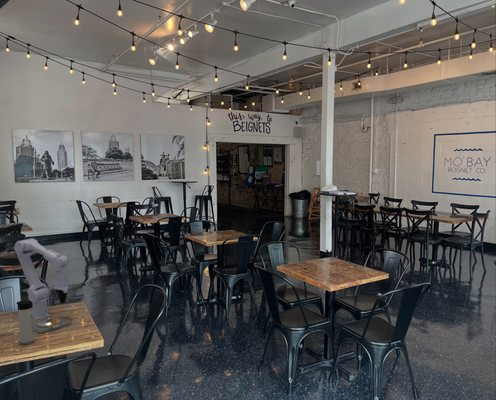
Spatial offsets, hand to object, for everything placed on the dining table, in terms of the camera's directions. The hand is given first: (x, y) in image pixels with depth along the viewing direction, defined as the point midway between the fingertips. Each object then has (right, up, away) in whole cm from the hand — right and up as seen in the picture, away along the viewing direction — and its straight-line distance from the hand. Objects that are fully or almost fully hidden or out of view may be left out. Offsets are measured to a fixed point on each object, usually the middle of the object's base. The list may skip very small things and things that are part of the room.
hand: (62, 302), depth 213 cm
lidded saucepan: (-2, -9, -8) cm, 12 cm away
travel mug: (-4, -12, -27) cm, 30 cm away
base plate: (-4, -10, -7) cm, 13 cm away
